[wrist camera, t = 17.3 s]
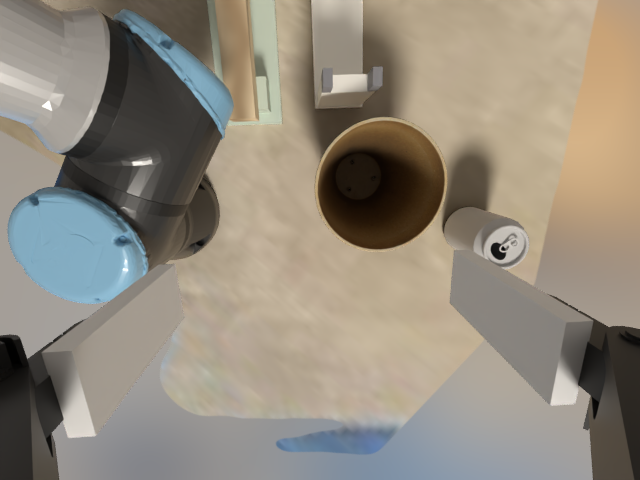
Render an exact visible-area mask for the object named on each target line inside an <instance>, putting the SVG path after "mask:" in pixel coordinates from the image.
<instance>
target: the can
mask: <svg viewBox="0 0 640 480" xmlns="http://www.w3.org/2000/svg"><path fill="white" fill-rule="evenodd" d="M444 235H445V239H446V241H447V243H448V244H449V245H450V246H451V247H453V248H454V249H456V250H471V251H473V252H475V253H477V254H478V255H480V256H482V257H484V258H485V259H487V260H489V261H491V262H492V263H494V264H496V265H497V266H499V267H501V268H503V269H508V268H512V267H514V266H516V265H518V264H519V263H520V262H521V261H522V260H523V259H524V257H525V256H526V254H527V252H528V249H529V238H528V235H527V233H526V232H525V231H524V228H523V227H522V226H521V225H520V224H519V223H518V222H517V221H515V220H512V219H510V218H507V217H504V216H500V215H497V214H494V213H491V212H487V211H484V210H481V209H478V208H475V207H464V208H460V209H459V210H457V211H455V212H454V213H453V214H452V215H451V216H450V217H449V218H448V220H447V222H446V224H445V228H444Z"/></svg>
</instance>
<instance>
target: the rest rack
mask: <svg viewBox="0 0 640 480" xmlns="http://www.w3.org/2000/svg"><path fill="white" fill-rule="evenodd" d="M207 6H208V15H209V24H210V33H211V41H212V50H213V59H214V68H215V75H216V76H217V77H218V78H219V79H220V80H221V81H222V82H223V74H222V65H221V55H220V46H219V37H218V27H217V18H216V8H215V0H207ZM250 10H251V22H252V35H253V47H254V59H255V72H256V84H257V96H258V109H259V121H247V122H233V121H230V120H229V121H228V124H227V126H239V125H269V124H283V122H282V106H281V90H280V75H279V59H278V43H277V27H276V11H275V0H250Z"/></svg>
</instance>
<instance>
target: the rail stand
mask: <svg viewBox="0 0 640 480" xmlns="http://www.w3.org/2000/svg"><path fill="white" fill-rule="evenodd" d="M311 11H312V39H313V66H314V94H315V109H327V108H359V107H362V106H363V102H365V101H366V100H367V99H368V98H369V97H370V96H371V95H372V94H374V93H375V92H376V91H377V90H378V89H379V88H380V87H381V86H382V83H383V67H373V68H372V69H371V70H370V71H369V73H368V74H363V0H311Z"/></svg>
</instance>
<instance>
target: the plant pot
mask: <svg viewBox="0 0 640 480" xmlns="http://www.w3.org/2000/svg"><path fill="white" fill-rule="evenodd" d="M351 161H352V162H353V163H352V164H351ZM372 177H375V178H372ZM348 189H351V190H350V191H348ZM446 190H447V170H446V165H445V161H444V158H443V156H442V153H441V151H440V149H439V148H438V146H437V144H436V143H435V142H434V140H433V139H432V138H431V137H430V136H429V135H428V134H427V133H426V132H425V131H424V130H423V129H421V128H420V127H418V126H417V125H415V124H413V123H411V122H409V121H406V120H403V119H399V118H394V117H377V118H371V119H367V120H364V121H361V122H358V123H356V124H354V125H352V126H351V127H349V128H347V129H346V130H345V131H343V132H342V133H341V134H340V135H338V136H337V137H336V138H335V139H334V141H333V142H332V143H331V144H330V145H329V147H328V148H327V150H326V151H325V153H324V155H323V157H322V159H321V161H320V163H319V166H318V169H317V173H316V178H315V199H316V204H317V208H318V211H319V213H320V216H321V218H322V219H323V221H324V223H325V225H326V226H327V227H328V229H329V230H330V231H331V232H332V233H333V234H334V235H335V236H336V237H337V238H338V239H340V240H341V241H342V242H344V243H346V244H347V245H349V246H352V247H354V248H357V249H360V250H364V251H369V252H384V251H390V250H394V249H398V248H400V247H403V246H405V245H407V244H409V243H411V242H413V241H414V240H416V239H417V238H418V237H420V236H421V235H422V234H423V233H424V232H425V231H426V230H427V229H428V228H429V227H430V226H431V225H432V224H433V222H434V221H435V219H436V218H437V216H438V214H439V212H440V210H441V208H442V206H443V203H444V200H445V195H446Z"/></svg>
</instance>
